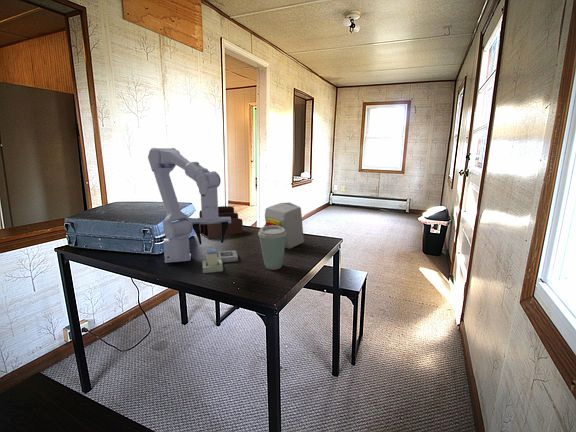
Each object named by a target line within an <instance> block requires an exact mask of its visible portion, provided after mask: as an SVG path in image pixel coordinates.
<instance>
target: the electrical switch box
mask: <svg viewBox="0 0 576 432" xmlns="http://www.w3.org/2000/svg"><path fill="white" fill-rule="evenodd" d="M264 221H265V224H264V225H263V227H264V226H271V225H275V226H280V227H283V228H284V229H285V231H286V232H287V235H286V242H285V249H289V250H290V249H292V248H295V247H296V246H299V245H301V244H303V243H305V238H304V227H303V215H302V208H301V207H300V206H298V205H296V204H294V203H292V202H279V203H277V204H274V205H270V206H268V207H266V208H265V210H264Z"/></svg>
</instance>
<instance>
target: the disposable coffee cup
mask: <svg viewBox="0 0 576 432" xmlns="http://www.w3.org/2000/svg"><path fill="white" fill-rule="evenodd" d="M257 233H258V234H257V236H259V242H260V247H261V254H262V259H263V263H264V267H265V268H266V269H268V270H278V269H281V268H282V266H283V264H284V256H285V249H286V248H285V242H286V235H287V232H286V231H285V229H284V228H283V227H280V226H275V225H271V226H264V225H263V226H262V227H261V228H259V231H258V232H257Z"/></svg>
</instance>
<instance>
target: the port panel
mask: <svg viewBox="0 0 576 432" xmlns="http://www.w3.org/2000/svg"><path fill="white" fill-rule="evenodd" d="M205 259H206V260H205V261H207V252H205ZM219 259H221V260H222V264H223V263H224V264H225V263H233V262H235V263H236V262H239V256H238V253H237V250H236V249H235V250H234V249H233V250H223V251H222V250H221V251H217V260H219Z"/></svg>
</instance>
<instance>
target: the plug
mask: <svg viewBox="0 0 576 432" xmlns="http://www.w3.org/2000/svg"><path fill="white" fill-rule="evenodd" d="M217 252H218V251H217V248H207V249H206V253H207V263H208V266H215V265H217Z"/></svg>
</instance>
